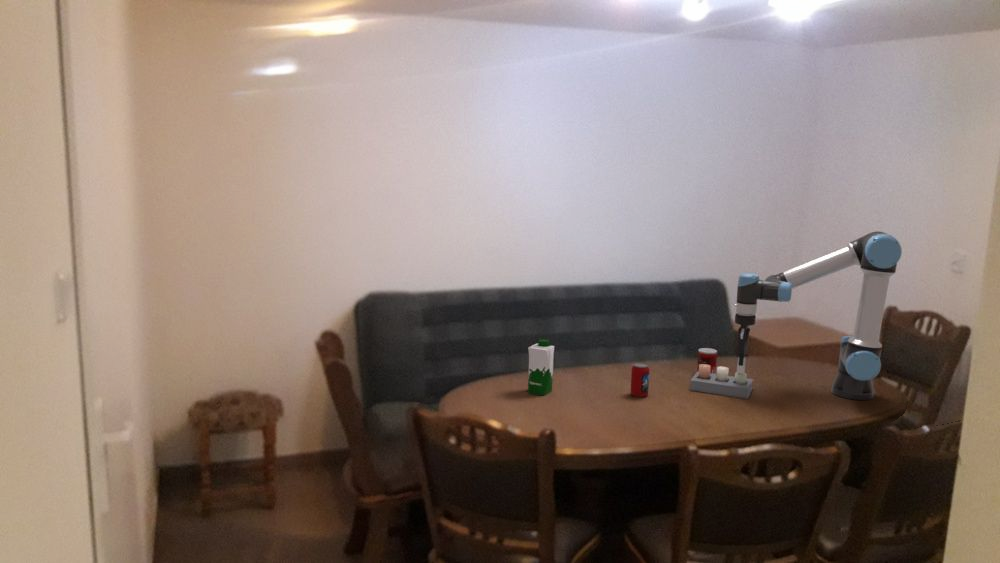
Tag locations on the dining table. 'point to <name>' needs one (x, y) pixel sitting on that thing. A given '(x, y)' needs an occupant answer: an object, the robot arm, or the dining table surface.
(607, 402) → the dining table surface
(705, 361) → the canned food
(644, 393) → the beverage can
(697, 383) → the console
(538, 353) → the milk carton
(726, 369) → the button cream
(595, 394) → the dining table surface
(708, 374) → the button terracotta
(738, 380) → the button sage
